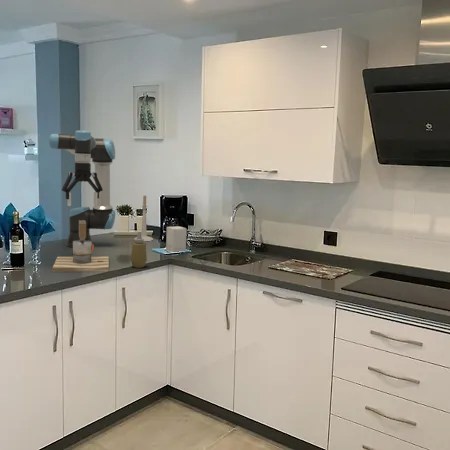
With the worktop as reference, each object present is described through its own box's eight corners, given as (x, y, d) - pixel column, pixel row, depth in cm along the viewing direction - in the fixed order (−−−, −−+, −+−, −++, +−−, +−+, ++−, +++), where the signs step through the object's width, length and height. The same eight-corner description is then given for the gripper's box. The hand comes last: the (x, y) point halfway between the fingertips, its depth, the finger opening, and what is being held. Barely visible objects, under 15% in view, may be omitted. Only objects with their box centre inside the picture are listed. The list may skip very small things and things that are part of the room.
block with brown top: (73, 256, 251) (73, 223, 249) (72, 251, 262) (72, 220, 260) (94, 255, 254) (94, 223, 252) (93, 250, 265) (93, 220, 263)
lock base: (57, 260, 268) (57, 249, 267) (108, 260, 274) (108, 249, 273) (52, 271, 243) (52, 259, 242) (108, 271, 249) (108, 259, 248)
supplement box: (186, 253, 302) (187, 228, 300) (172, 254, 297) (173, 228, 295) (178, 250, 309) (179, 226, 307) (165, 251, 304) (166, 226, 302)
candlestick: (135, 242, 331) (136, 195, 327) (132, 238, 343) (133, 193, 339) (155, 241, 335) (156, 196, 331) (151, 238, 347) (152, 194, 343)
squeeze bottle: (133, 268, 257) (134, 233, 254) (128, 265, 264) (129, 230, 261) (148, 267, 260) (149, 233, 258) (143, 264, 268) (144, 230, 265)
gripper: (60, 162, 241) (60, 207, 244) (109, 163, 256) (109, 205, 259) (54, 161, 247) (55, 205, 250) (103, 162, 262) (102, 204, 265)
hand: (82, 205), depth 255 cm, fingers open, 13 cm apart
